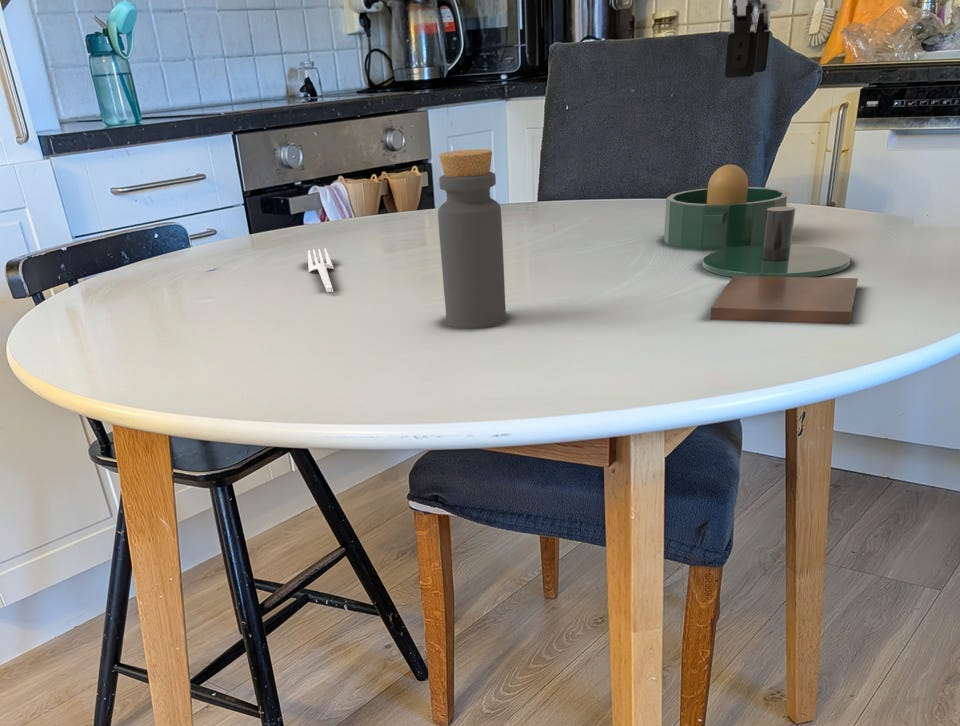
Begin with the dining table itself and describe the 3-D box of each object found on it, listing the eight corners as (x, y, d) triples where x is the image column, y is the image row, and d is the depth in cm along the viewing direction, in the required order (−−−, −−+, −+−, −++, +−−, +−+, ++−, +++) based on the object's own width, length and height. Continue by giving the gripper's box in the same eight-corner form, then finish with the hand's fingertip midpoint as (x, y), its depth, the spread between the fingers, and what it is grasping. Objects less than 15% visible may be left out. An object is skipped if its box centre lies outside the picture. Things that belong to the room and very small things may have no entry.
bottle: (514, 318, 87) (507, 147, 79) (494, 334, 82) (484, 154, 74) (460, 316, 89) (447, 149, 81) (437, 332, 84) (422, 157, 76)
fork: (316, 297, 101) (314, 280, 99) (306, 265, 117) (304, 250, 116) (344, 294, 101) (342, 276, 100) (331, 262, 117) (329, 247, 116)
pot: (790, 228, 117) (796, 182, 114) (772, 260, 101) (778, 208, 98) (681, 228, 122) (684, 184, 119) (648, 258, 106) (650, 209, 103)
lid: (852, 255, 101) (861, 196, 97) (844, 287, 89) (854, 221, 85) (714, 254, 106) (719, 198, 103) (690, 284, 94) (694, 221, 91)
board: (855, 294, 86) (858, 278, 86) (848, 329, 77) (851, 311, 76) (731, 291, 91) (733, 275, 90) (709, 324, 81) (711, 307, 80)
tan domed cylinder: (745, 235, 112) (752, 161, 108) (739, 242, 109) (747, 166, 104) (707, 235, 114) (713, 162, 109) (700, 242, 110) (706, 167, 106)
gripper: (792, -133, 84) (769, 77, 94) (809, -114, 97) (787, 69, 107) (713, -123, 87) (699, 80, 97) (740, -105, 100) (725, 72, 110)
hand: (745, 74), depth 102 cm, fingers open, 9 cm apart
